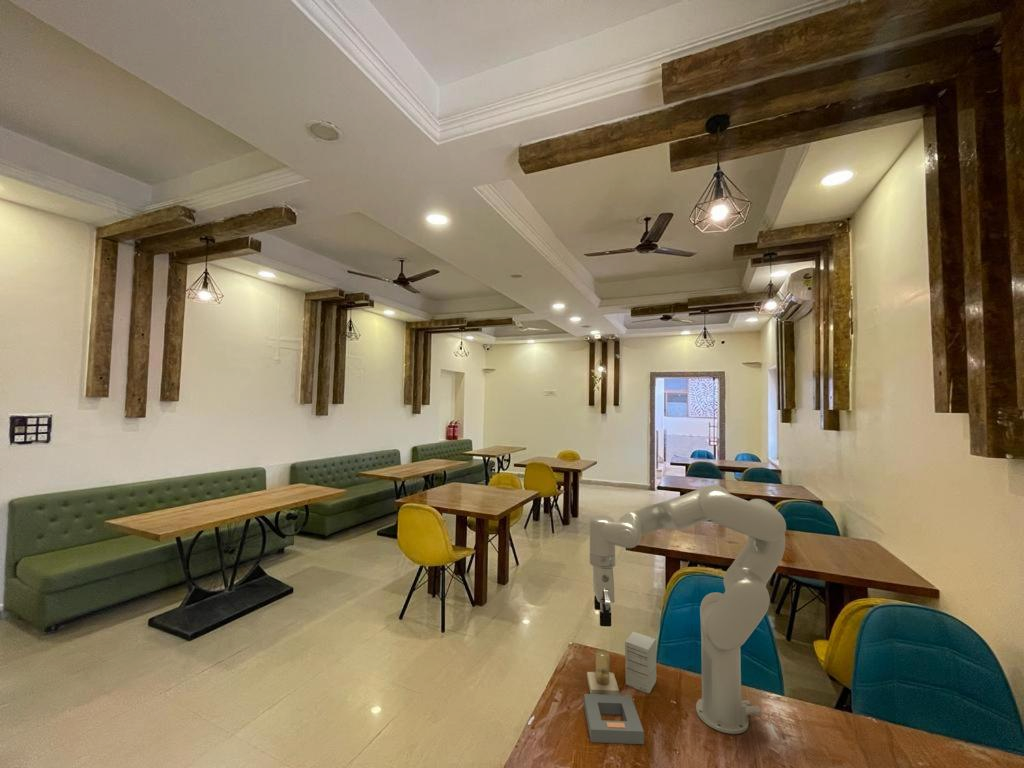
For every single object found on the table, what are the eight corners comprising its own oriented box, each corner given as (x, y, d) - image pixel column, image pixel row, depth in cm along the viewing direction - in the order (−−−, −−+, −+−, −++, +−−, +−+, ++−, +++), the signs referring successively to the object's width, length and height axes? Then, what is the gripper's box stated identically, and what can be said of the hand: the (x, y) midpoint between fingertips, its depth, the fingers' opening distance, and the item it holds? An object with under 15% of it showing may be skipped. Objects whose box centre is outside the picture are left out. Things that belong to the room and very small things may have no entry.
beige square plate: (613, 679, 128) (613, 672, 128) (619, 697, 120) (619, 690, 120) (587, 678, 128) (587, 672, 128) (591, 696, 120) (591, 689, 120)
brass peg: (608, 676, 126) (608, 649, 127) (610, 685, 122) (610, 657, 123) (594, 676, 126) (594, 648, 127) (596, 685, 122) (596, 656, 123)
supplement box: (633, 672, 132) (633, 630, 132) (657, 681, 127) (656, 638, 128) (624, 684, 126) (624, 641, 126) (649, 694, 121) (649, 649, 122)
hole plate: (631, 706, 116) (631, 694, 117) (643, 744, 103) (643, 730, 104) (583, 705, 117) (583, 693, 117) (590, 742, 104) (590, 728, 104)
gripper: (621, 570, 117) (621, 633, 116) (609, 549, 135) (609, 604, 134) (594, 569, 118) (594, 632, 117) (585, 548, 135) (585, 603, 134)
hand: (602, 617), depth 125 cm, fingers open, 9 cm apart
